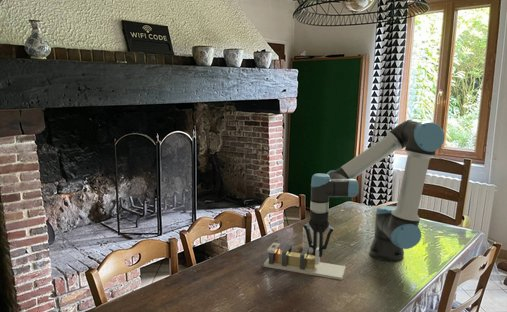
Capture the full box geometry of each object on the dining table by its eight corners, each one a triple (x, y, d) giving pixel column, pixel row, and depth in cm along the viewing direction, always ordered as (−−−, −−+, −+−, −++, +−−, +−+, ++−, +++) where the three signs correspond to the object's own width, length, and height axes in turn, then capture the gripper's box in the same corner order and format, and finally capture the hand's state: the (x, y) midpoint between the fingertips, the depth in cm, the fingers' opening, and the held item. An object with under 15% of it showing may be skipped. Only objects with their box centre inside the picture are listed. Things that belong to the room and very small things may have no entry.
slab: (345, 268, 170) (345, 266, 169) (341, 280, 160) (342, 277, 159) (271, 256, 182) (271, 254, 181) (263, 266, 171) (263, 264, 171)
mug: (324, 252, 186) (325, 230, 184) (308, 255, 182) (309, 233, 180) (311, 243, 197) (311, 222, 195) (295, 246, 193) (296, 224, 191)
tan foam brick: (316, 264, 171) (317, 255, 170) (314, 269, 167) (314, 259, 166) (273, 257, 178) (273, 248, 177) (270, 261, 174) (270, 252, 173)
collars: (308, 261, 174) (309, 247, 173) (304, 269, 166) (304, 255, 165) (273, 255, 180) (273, 242, 179) (267, 263, 172) (267, 249, 171)
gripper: (336, 209, 165) (334, 262, 169) (306, 206, 169) (304, 257, 174) (333, 215, 158) (331, 269, 162) (302, 211, 163) (300, 264, 167)
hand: (317, 263), depth 168 cm, fingers closed
